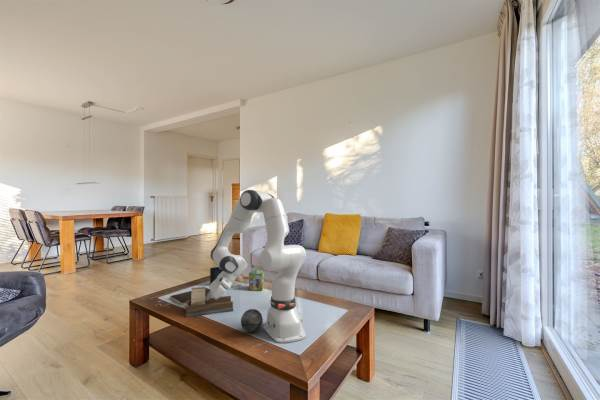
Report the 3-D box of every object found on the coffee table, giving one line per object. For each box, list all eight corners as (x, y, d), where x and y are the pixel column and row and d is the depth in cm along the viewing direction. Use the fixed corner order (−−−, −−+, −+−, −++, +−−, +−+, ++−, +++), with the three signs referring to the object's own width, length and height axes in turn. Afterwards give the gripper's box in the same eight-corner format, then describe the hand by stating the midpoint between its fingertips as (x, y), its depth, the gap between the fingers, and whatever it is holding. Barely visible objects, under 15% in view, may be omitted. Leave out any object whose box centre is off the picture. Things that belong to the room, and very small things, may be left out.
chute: (233, 311, 148) (233, 303, 148) (185, 317, 139) (185, 309, 139) (229, 300, 163) (230, 294, 163) (186, 305, 154) (186, 298, 154)
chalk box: (262, 291, 182) (262, 269, 182) (248, 290, 182) (248, 268, 182) (264, 286, 191) (264, 265, 192) (251, 286, 192) (251, 265, 192)
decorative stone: (238, 328, 128) (239, 307, 128) (259, 324, 132) (259, 304, 132) (243, 338, 119) (243, 315, 119) (265, 334, 123) (265, 312, 123)
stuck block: (205, 309, 147) (205, 290, 147) (191, 310, 144) (191, 291, 145) (204, 304, 154) (204, 286, 154) (191, 305, 151) (191, 287, 151)
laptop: (217, 290, 182) (217, 271, 182) (209, 286, 191) (210, 267, 191) (241, 285, 194) (241, 267, 194) (232, 281, 203) (233, 264, 203)
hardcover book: (217, 296, 172) (218, 292, 172) (182, 306, 155) (182, 302, 155) (205, 290, 183) (205, 287, 183) (170, 299, 165) (170, 295, 166)
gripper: (219, 271, 163) (201, 289, 160) (222, 281, 144) (202, 301, 140) (226, 278, 165) (209, 296, 161) (230, 288, 146) (211, 309, 142)
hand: (206, 299), depth 151 cm, fingers closed, pressing on stuck block
